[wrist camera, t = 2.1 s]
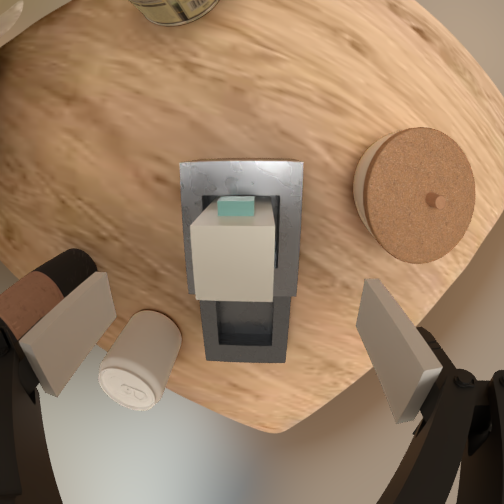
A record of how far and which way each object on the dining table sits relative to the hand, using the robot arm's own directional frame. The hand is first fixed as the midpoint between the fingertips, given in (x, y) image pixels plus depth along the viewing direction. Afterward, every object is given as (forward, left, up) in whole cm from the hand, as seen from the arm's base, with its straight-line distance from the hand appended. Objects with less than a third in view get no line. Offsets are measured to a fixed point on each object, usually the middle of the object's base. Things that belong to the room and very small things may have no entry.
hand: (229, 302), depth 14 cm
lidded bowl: (+16, +4, -19) cm, 26 cm away
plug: (0, 0, -15) cm, 15 cm away
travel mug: (-24, -8, -19) cm, 32 cm away
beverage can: (-13, -17, -19) cm, 29 cm away
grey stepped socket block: (0, -6, -19) cm, 20 cm away
